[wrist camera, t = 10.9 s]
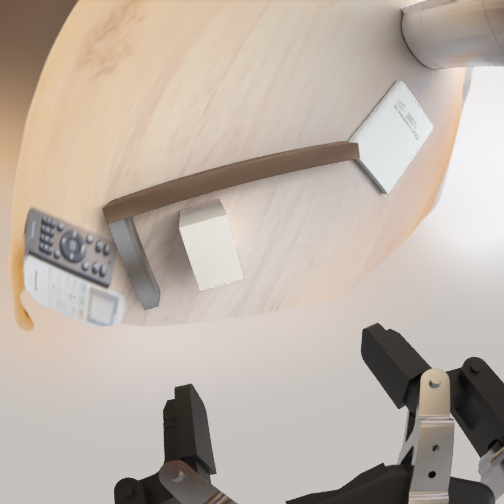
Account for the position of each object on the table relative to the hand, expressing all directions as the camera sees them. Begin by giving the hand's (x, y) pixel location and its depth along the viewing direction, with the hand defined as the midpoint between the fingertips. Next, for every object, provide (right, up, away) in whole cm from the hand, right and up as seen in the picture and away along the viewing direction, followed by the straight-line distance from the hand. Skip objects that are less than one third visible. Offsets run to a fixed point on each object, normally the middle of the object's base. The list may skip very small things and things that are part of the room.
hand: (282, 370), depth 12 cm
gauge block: (-6, +7, +17) cm, 19 cm away
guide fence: (-2, +9, +17) cm, 19 cm away
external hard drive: (+15, +20, +18) cm, 31 cm away
